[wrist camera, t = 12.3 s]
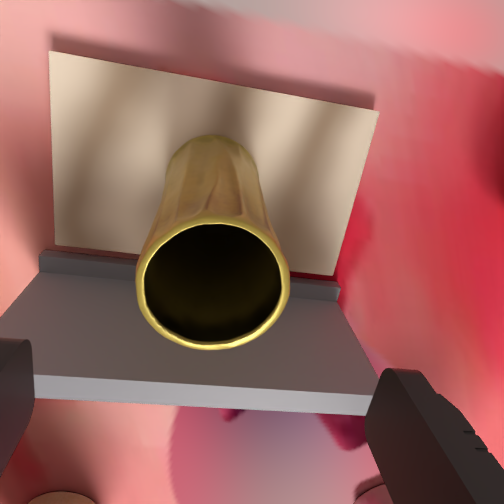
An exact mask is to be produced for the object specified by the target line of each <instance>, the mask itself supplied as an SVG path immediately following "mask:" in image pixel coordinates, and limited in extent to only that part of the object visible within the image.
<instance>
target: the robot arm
mask: <svg viewBox="0 0 504 504" xmlns="http://www.w3.org/2000/svg"><path fill="white" fill-rule="evenodd" d="M34 400H35V389H34V373H33V357H32V346H31V342H30V341H29V340H28V339H16V338H3V337H0V477H1V475H2V473H3V471H4V469H5V467H6V465H7V463H8V462H9V460H10V458H11V456H12V454H13V452H14V450H15V448H16V446H17V444H18V443H19V441H20V439H21V437H22V435H23V433H24V431H25V429H26V427H27V425H28V423H29V421H30V418H31V415H32V411H33V407H34ZM365 435H366V439H367V442H368V445H369V447H370V449H371V452H372V454H373V457H374V459H375V461H376V464H377V466H378V468H379V471H380V473H381V476H382V478H383V480H384V483H385V484H384V485H380V486H378V487H375V488H373V489H371V490H369V491H367V492H366V493H364V494H363V495H361V496H360V497H359V498H358V499H357V500H356V501H355V502H354V503H353V504H504V469H503V468H502V467H501V465H500V464H499V463H498V461H497V460H496V459H495V457H494V456H493V455H492V453H489V452H488V448H487V447H486V445H485V444H484V442H483V441H482V440H481V438H480V437H479V436H478V435H475V430H474V429H473V428H472V426H471V425H470V424H469V422H468V421H467V420H466V418H465V417H464V415H463V414H462V413H461V411H459V410H458V409H457V408H456V407H455V406H454V405H452V404H451V403H450V402H449V401H448V400H447V399H445V398H444V397H443V396H442V395H441V394H436V392H435V391H434V389H433V388H432V387H431V385H430V384H429V382H428V381H427V379H426V378H425V377H424V375H423V374H422V373H421V372H420V371H417V370H407V369H394V368H386V369H385V370H384V371H383V372H382V374H381V376H380V379H379V381H378V384H377V387H376V389H375V392H374V395H373V397H372V400H371V403H370V405H369V408H368V411H367V413H366V417H365Z"/></svg>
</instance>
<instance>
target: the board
mask: <svg viewBox="0 0 504 504" xmlns="http://www.w3.org/2000/svg"><path fill="white" fill-rule="evenodd" d="M49 76H50V107H51V138H52V168H53V199H54V230H55V245H61V246H70V247H79V248H88V249H97V250H106V251H115V252H124V253H133V254H140V253H141V251H142V248H143V245H144V243H145V241H146V239H147V236H148V234H149V231H150V229H151V226H152V223H153V221H154V218H155V216H156V214H157V211H158V208H159V206H160V203H161V200H162V194H163V189H164V186H165V174H166V170H167V167H168V164H169V161H170V159H171V157H172V156H173V155H174V153H175V152H176V151H177V150H178V149H179V148H180V147H181V146H182V145H183V144H185V143H186V142H187V141H189V140H191V139H193V138H196V137H200V136H205V135H218V136H223V137H227V138H229V139H232V140H234V141H236V142H237V143H239V144H240V145H242V146H243V147H244V148H245V149H246V150H247V151H248V152H249V154H250V155H251V156H252V158H253V160H254V162H255V164H256V166H257V169H258V174H259V183H260V186H261V190H262V194H263V198H264V202H265V205H266V208H267V212H268V216H269V219H270V222H271V225H272V227H273V230H274V232H275V234H276V236H277V238H278V241H279V244H280V247H281V251H282V253H283V255H284V257H285V258H286V260H287V263H288V266H289V271H294V272H303V273H312V274H321V275H330V276H333V273H334V270H335V266H336V263H337V259H338V256H339V252H340V249H341V245H342V242H343V238H344V235H345V231H346V228H347V224H348V221H349V217H350V214H351V210H352V207H353V203H354V200H355V196H356V193H357V189H358V186H359V182H360V179H361V175H362V172H363V168H364V165H365V161H366V158H367V154H368V151H369V148H370V144H371V141H372V137H373V134H374V130H375V127H376V123H377V120H378V116H379V113H380V112H379V111H375V110H370V109H365V108H359V107H354V106H349V105H343V104H338V103H332V102H327V101H321V100H316V99H311V98H305V97H300V96H294V95H289V94H283V93H278V92H273V91H267V90H262V89H256V88H251V87H245V86H240V85H235V84H229V83H224V82H218V81H213V80H208V79H202V78H197V77H191V76H186V75H180V74H175V73H170V72H164V71H159V70H153V69H148V68H142V67H137V66H132V65H126V64H121V63H115V62H110V61H104V60H99V59H94V58H88V57H83V56H77V55H72V54H67V53H61V52H56V51H49Z"/></svg>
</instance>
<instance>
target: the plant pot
mask: <svg viewBox="0 0 504 504" xmlns="http://www.w3.org/2000/svg"><path fill="white" fill-rule="evenodd" d="M28 504H95V503H94V502H93V501H92V500H91V499H89V498H87V497H85V496H83V495H80V494H77V493H71V492H51V493H46V494H43V495H40V496H38V497H36V498H34V499H33V500H31V501H30V502H29V503H28Z"/></svg>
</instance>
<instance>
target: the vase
mask: <svg viewBox="0 0 504 504" xmlns="http://www.w3.org/2000/svg"><path fill="white" fill-rule="evenodd" d="M135 284H136V294H137V301H138V305H139V308H140V310H141V312H142V314H143V316H144V317H145V319H146V320H147V322H148V323H149V324H150V325H151V326H152V327H153V328H154V329H155V330H156V331H157V332H158V333H159V334H161V335H162V336H164V337H165V338H167V339H169V340H171V341H173V342H175V343H178V344H180V345H182V346H185V347H189V348H193V349H198V350H221V349H230V348H233V347H237V346H240V345H243V344H246V343H248V342H250V341H252V340H254V339H256V338H257V337H259V336H260V335H262V334H263V333H265V332H266V331H267V330H268V329H269V328H270V327H271V326H272V325H273V324H274V323H275V322H276V321H277V319H278V318H279V316H280V315H281V313H282V311H283V310H284V308H285V306H286V303H287V301H288V298H289V294H290V272H289V266H288V263H287V260H286V258H285V257H284V255H283V253H282V251H281V247H280V244H279V241H278V238H277V236H276V234H275V232H274V230H273V227H272V225H271V222H270V219H269V216H268V212H267V208H266V205H265V202H264V198H263V194H262V190H261V186H260V183H259V174H258V169H257V166H256V164H255V162H254V160H253V158H252V156H251V155H250V154H249V152H248V151H247V150H246V149H245V148H244V147H243V146H242V145H240V144H239V143H237V142H236V141H234V140H232V139H229V138H227V137H223V136H218V135H205V136H200V137H196V138H193V139H191V140H189V141H187V142H186V143H185V144H183V145H182V146H181V147H180V148H179V149H178V150H177V151H176V152H175V153H174V155H173V156H172V157H171V159H170V161H169V164H168V167H167V170H166V174H165V186H164V189H163V194H162V200H161V203H160V206H159V208H158V211H157V214H156V216H155V218H154V221H153V223H152V226H151V229H150V231H149V234H148V236H147V239H146V241H145V243H144V245H143V248H142V251H141V253H140V256H139V259H138V262H137V265H136V277H135Z"/></svg>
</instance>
